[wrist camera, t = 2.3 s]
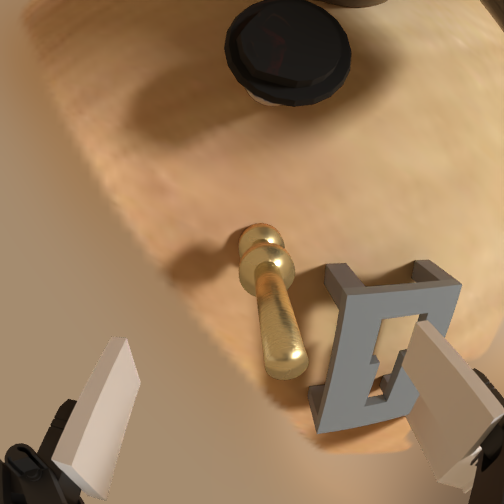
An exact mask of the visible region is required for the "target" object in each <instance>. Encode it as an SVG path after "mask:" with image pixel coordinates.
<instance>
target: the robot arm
mask: <svg viewBox="0 0 504 504" xmlns="http://www.w3.org/2000/svg"><path fill="white" fill-rule="evenodd" d="M320 1H323V2H327V3H331V4H335V5H341V6H348V7H369V6H375V5H378V4H381V3H384V2H386V1H387V0H320ZM480 2H481V3H482V4H483V5H484V6H485V8H486V9H487V10H488V11H489V13H490V14H491V15H492V17H493V18H494V19H495V21H496V22H497V23H498V25H499V26H500V28H501V29H502V31H503V32H504V0H480ZM402 367H403V369H404V370H405V372H406V373H407V375H408V376H409V378H410V379H411V381H412V383H413V384H414V386H415V387H416V389H417V390H418V392H419V393H420V395H421V397H422V398H423V400H424V401H425V403H426V405H427V406H428V408H429V409H430V411H431V413H432V414H433V416H434V417H435V419H436V421H437V422H438V424H439V426H440V427H441V429H442V431H443V432H444V434H445V436H446V437H447V439H448V441H449V443H450V444H451V446H452V448H453V450H454V451H455V453H456V455H457V457H458V458H459V460H460V461H461V460H462V459H464V458H466V457H468V456H470V455H472V454H473V453H474V452H475V451H476V449H477V448H478V447H479V446H480V447H481V448H482V450H481V451H480V452H479V453H478V455H477V456H476V457H475V458H474V459H473V460H472V461H471V463H470V465H473V464H474V463H475V462H476V460H477V459H478V462H477V463H476V464H475V466H477V468H476V473H475V478H474V483H473V487H472V491H471V495H470V499H469V503H468V504H504V398H503V397H502V396H501V394H500V393H499V392H498V391H497V389H494V386H493V385H492V384H491V383H490V382H489V380H488V379H487V378H486V377H485V375H484V374H483V373H481V372H480V371H478V370H477V369H475V368H474V369H472V368H471V367H470V366H469V365H468V364H467V363H466V361H465V360H464V359H463V358H462V357H461V356H460V355H459V353H458V352H457V351H456V350H455V349H454V348H453V347H452V346H451V345H450V343H449V342H448V341H447V340H446V339H445V338H444V337H443V336H442V335H441V334H440V333H439V332H438V330H437V329H436V328H435V327H434V326H433V325H432V324H431V323H430V322H429V321H428V320H426V321H420V322H416V324H415V327H414V330H413V333H412V337H411V340H410V343H409V346H408V349H407V352H406V354H405V357H404V360H403V363H402ZM139 386H140V379H139V376H138V373H137V370H136V367H135V364H134V361H133V357H132V354H131V350H130V347H129V344H128V340H127V338H124V337H123V338H122V337H111V338H110V340H109V342H108V344H107V345H106V347H105V349H104V351H103V353H102V354H101V356H100V358H99V360H98V362H97V364H96V366H95V368H94V370H93V371H92V373H91V375H90V377H89V379H88V381H87V383H86V385H85V387H84V389H83V391H82V393H81V395H80V397H79V399H78V401H75V400H71V399H68V400H67V401H66V402H64V403H63V404H62V405H61V406H60V407H59V409H58V411H57V413H56V415H55V419H53V421H52V423H51V427H49V429H48V431H47V433H46V435H45V437H44V439H43V442H42V444H41V446H40V448H39V450H38V452H37V453H36V452H35V451H34V450H33V449H32V448H31V447H30V446H28V445H26V444H22V443H21V444H15V445H14V446H12V447H10V448H9V449H8V451H7V453H6V455H5V463H3V462H2V461H1V460H0V504H84V502H83V500H82V498H81V497H80V492H81V490H82V491H83V492H85V493H86V494H87V495H88V496H91V497H94V498H98V499H101V500H105V501H106V500H107V497H108V493H109V488H110V484H111V481H112V477H113V473H114V469H115V466H116V462H117V458H118V455H119V451H120V447H121V444H122V440H123V437H124V434H125V431H126V427H127V424H128V421H129V417H130V414H131V411H132V408H133V404H134V402H135V398H136V395H137V392H138V389H139Z"/></svg>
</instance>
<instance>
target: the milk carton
mask: <svg viewBox="0 0 504 504" xmlns="http://www.w3.org/2000/svg"><path fill="white" fill-rule="evenodd" d="M405 417H406V419H407V421H408V423H409V425H410V426H411V428H412V430H413V432H414V434H415V436H416V438H417V440H418V442H419V444H420V446H421V448H422V451H423V452H424V454H425V457H426V459H427V461H428V463H429V465H430V467H431V469H432V471H433V474H434V476H435V478H436V480H437V482H439V483H443V484H446V485H450V486H454V487H458V488H462V490H463V492H464V493H466V492H468V491H469V490H470V489H471V488H472V487H473V483H474V478H475V473H476V468H477V466H475V464H476V463H477V462H478V459H477V460H476V462H475V463H474V464H473V465H470V463H471V461H472V460H473V459H474V458H475V457H476V456H477V455H478V453H479V452H480V451H481V450H482V448H481V447H480V446H479V447H478V448H477V449H476V451H475V452H474V453H473V454H472V455H470V456H468V457H466V458H464V459H462V460H461V461H460V460H459V458H458V457H457V455H456V453H455V451H454V450H453V448H452V446H451V444H450V443H449V441H448V439H447V437H446V436H445V434H444V432H443V431H442V429H441V427H440V426H439V424H438V422H437V421H436V419H435V417H434V416H433V414H432V413H431V411H430V409H429V408H428V406H427V405H426V403H425V401H424V400H423V398H422V397H421V395H419V397H418V398H417V400H416V402H415V404H414V406H413V408H412V410H411V412H410V413H409V414H408V415H405Z"/></svg>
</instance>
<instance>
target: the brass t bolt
mask: <svg viewBox="0 0 504 504" xmlns="http://www.w3.org/2000/svg"><path fill="white" fill-rule="evenodd" d="M239 255H240V258H241V259H240V262H239V279H240V282H241V285H242V286H243V288H244V289H245V290H246V291H247V292H248V293H249V294H251V295H253V296H255V297H257V305H258V313H259V322H260V330H261V338H262V346H263V354H264V362H265V369H266V372H267V373H268V375H269V376H271V377H272V378H275V379H278V380H289V379H293V378H296V377H298V376H299V375H301V374H302V373H303V372H304V371H305V370H306V369H307V367H308V363H309V360H308V356H307V353H306V350H305V347H304V344H303V340H302V337H301V334H300V331H299V328H298V324H297V321H296V318H295V315H294V312H293V309H292V306H291V302H290V299H289V296H288V293H287V289H288V288H289V287H290V286H291V284H292V282H293V280H294V276H295V267H294V263H293V261H292V259H291V257H290V255H289V253H288V252H287V251H286V250H285V247H284V242H283V239H282V237H281V235H280V233H279V232H278V231H277V229H275V228H274V227H273V226H271V225H268V224H264V223H258V224H254V225H251V226H249V227H248V228H246V229H245V230H244V231H243V233H242V234H241V236H240V239H239Z"/></svg>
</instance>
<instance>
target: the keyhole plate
mask: <svg viewBox="0 0 504 504" xmlns="http://www.w3.org/2000/svg"><path fill="white" fill-rule="evenodd" d="M411 278H412V279H413V280H414V281H415V282H416V283H406V284H394V285H381V286H367V287H365V285H364V284H363V283H362V282H361V281H360V279H359V278H358V277H357V276H356V275H355V273H354V272H353V271H352V270H351V269H350V267H349V266H348V265H347V264H346V263H341V264H326V268H325V278H324V285H325V286H326V288H327V290H328V291H329V293H330V295H331V297H332V298H333V300H334V302H335V304H336V305H337V307H338V309H339V314H338V321H337V326H336V332H335V338H334V343H333V349H332V354H331V359H330V364H329V369H328V373H327V378H326V383H325V385H319V386H309V392H308V401H309V404H310V408H311V412H312V416H313V420H314V424H315V428H316V432H317V434H321V433H327V432H334V431H339V430H345V429H350V428H355V427H360V426H365V425H370V424H374V423H378V422H382V421H386V420H390V419H394V418H398V417H401V416H405V415H408V414H409V413H410V412H411V410H412V408H413V406H414V404H415V402H416V400H417V398H418V397H419V395H420V393H419V392H418V390H417V389H416V387H415V386H414V384H413V383H412V381H411V379H410V378H409V376H408V375H407V373H406V372H405V370H404V369H403V367H402V363H403V360H404V357H405V354H406V352H407V349H406V350H400V351H399V354H398V357H397V360H396V362H395V365H394V368H393V371H392V373H391V374H388V375H383V378H382V380H381V383H380V388H381V390H382V392H383V395H378V396H373V397H368V395H369V392H370V390H371V387H372V384H373V381H374V379H375V376H376V373H377V370H378V367H379V364H380V362H379V360H378V359H377V357H376V355H372V354H373V350H374V347H375V343H376V340H377V336H378V332H379V328H380V324H381V320H382V319H388V318H396V317H403V316H410V315H417V314H420V315H419V318H418V321H417V322H420V321H426V320H428V321H429V322H430V323H431V324H432V325H433V326H434V327H435V328H436V329H437V330H438V332H439V333H440V334H441V335H442V336H443V337H444V338H445V335H446V333H447V330H448V327H449V325H450V322H451V319H452V316H453V313H454V310H455V307H456V304H457V300H458V297H459V294H460V290H461V287H462V284H461V283H460V282H458V281H457V280H456V279H455V278H453V277H452V276H451V275H449V274H448V273H447V272H445V271H444V270H443V269H441V268H440V267H438V266H437V265H436V264H434V263H433V262H432V261H430V260H415V263H414V268H413V273H412V277H411Z"/></svg>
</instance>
